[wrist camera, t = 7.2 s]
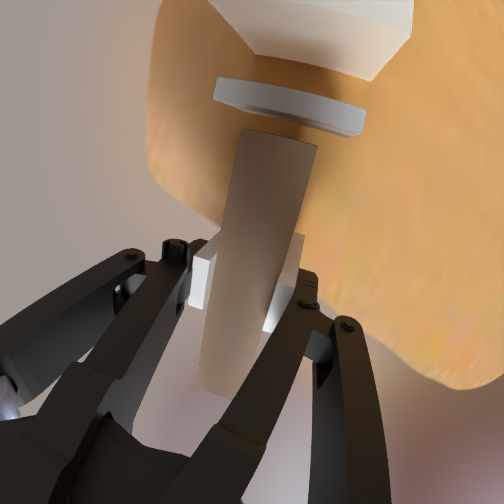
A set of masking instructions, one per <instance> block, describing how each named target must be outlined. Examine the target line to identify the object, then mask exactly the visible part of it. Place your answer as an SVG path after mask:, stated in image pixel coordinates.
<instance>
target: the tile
mask: <svg viewBox="0 0 504 504" xmlns="http://www.w3.org/2000/svg"><path fill="white" fill-rule="evenodd" d="M207 1H208V2H209V3H210V4H211V5H212V6H213V7H214V8H215V9H216V10H217V11H218V12H219V13H220V14H221V15H222V17H223V18H224V19H225V20H226V21H227V22H228V23H229V24H230V25H231V26H232V28H233V29H234V30H235V31H236V32H237V33H238V34H239V36H240V37H241V38H242V39H243V40H244V41H245V43H246V44H247V45H248V46H249V47H250V49H251V50H252V51H253V52H254V54H256V55H263V56H270V57H276V58H282V59H288V60H293V61H298V62H302V63H307V64H311V65H315V66H320V67H323V68H327V69H331V70H335V71H338V72H342V73H345V74H348V75H352V76H355V77H358V78H361V79H364V80H367V81H370V82H371V81H372V80H373V79H374V77H375V76H376V75H377V74H378V73H379V72H380V70H381V69H382V68H383V67H384V66H385V65H386V63H387V62H388V61H389V60H390V59H391V58H392V57H393V55H394V54H395V53H396V52H397V51H398V50H399V49H400V48H401V46H402V45H403V44H404V43H405V42H406V41H407V40H408V38H409V37H410V36H411V30H412V20H413V7H414V1H413V0H207Z"/></svg>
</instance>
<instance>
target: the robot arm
mask: <svg viewBox="0 0 504 504" xmlns="http://www.w3.org/2000/svg"><path fill="white" fill-rule="evenodd" d="M220 233H221V230H220V231H219V232H218V233H217V234H216V235H215V236H214V237H213V238H212V239H211V240H210V241H207V240H203V239H197V240H194V241H192V242H191V243H190V244H189V243H187V242H186V241H184V240H180V239H168V240H165V241H164V242H163V245H162V258H161V260H160V261H159V262H154V261H147V260H145V254H144V252H143V251H141V250H138V249H133V248H130V249H125V250H122V251H120V252H118V253H117V254H115V255H113V256H111V257H110V258H107V259H106V260H104V261H102V262H100V263H99V264H97V265H95V266H93V267H92V268H90V269H88V270H86V271H85V272H83V273H81V274H80V275H78V276H76V277H74V278H73V279H71V280H69V281H68V282H66V283H64V284H63V285H62V286H60V287H58V288H56V289H55V290H53V291H51V292H50V293H48V294H47V295H45V296H44V297H42V298H41V299H39V300H37V301H36V302H34V303H33V304H31V305H30V306H28V307H27V308H25V309H24V310H22V311H21V312H19V313H18V314H16V315H15V316H13V317H12V318H10V319H9V320H7V321H6V322H5V323H3V324H2V325H0V504H244V503H243V502H242V500H241V497H242V495H243V494H244V492H245V490H246V488H247V486H248V484H249V482H250V480H251V478H252V477H253V475H254V473H255V471H256V469H257V467H258V465H259V463H260V461H261V459H262V457H263V454H264V452H265V449H266V444H267V442H268V439H269V437H270V435H271V433H272V431H273V428H274V426H275V424H276V422H277V420H278V417H279V415H280V413H281V410H282V408H283V406H284V403H285V401H286V399H287V396H288V394H289V391H290V389H291V386H292V384H293V382H294V379H295V376H296V374H297V371H298V369H299V366H300V364H301V361H302V358H303V356H306V357H308V358H309V359H311V360H313V363H312V372H313V402H312V403H313V404H312V444H311V465H310V481H309V494H308V504H392V503H391V491H390V478H389V467H388V458H387V451H386V443H385V437H384V429H383V423H382V417H381V411H380V406H379V400H378V395H377V390H376V385H375V380H374V375H373V371H372V366H371V362H370V357H369V353H368V349H367V345H366V341H365V337H364V333H363V329H362V327H361V325H360V324H359V323H358V321H356V320H355V319H353V318H352V317H348V316H343V315H341V316H337V317H336V318H335V320H332V319H330V318H328V317H327V316H325V315H324V314H322V313H321V312H320V306H319V304H318V302H317V292H318V277H317V276H316V274H315V273H314V272H310V271H307V270H304V269H301V268H299V264H300V259H301V253H302V248H303V242H304V237H305V235H303V234H299V233H296V232H293V236H292V239H291V242H290V246H289V249H288V252H287V256H286V259H285V262H284V265H283V269H282V272H281V273H280V276H279V279H278V282H277V285H276V288H275V292H274V295H273V298H272V301H271V304H270V307H269V310H268V313H267V317H266V320H265V323H264V326H263V329H262V330H263V331H266V332H269V333H272V334H271V336H270V338H269V340H268V341H267V343H266V345H265V347H264V348H263V350H262V352H261V354H260V355H259V357H258V359H257V360H256V362H255V364H254V365H253V367H252V369H251V370H250V372H249V374H248V375H247V377H246V379H245V380H244V382H243V384H242V385H241V387H240V389H239V390H238V392H237V394H236V395H235V397H234V398H233V400H232V402H231V403H230V405H229V406H228V408H227V409H226V411H225V413H224V414H223V416H222V417H221V419H220V420H219V422H218V423H217V424H215V425H214V426H213V427H212V428H211V429H210V430H209V432H208V433H207V435H206V436H205V438H204V439H203V441H202V442H201V443H200V445H199V446H198V448H197V449H196V451H195V452H194V453H193V455H192V456H191V458H190V457H187V456H184V455H182V454H177V453H173V452H167V451H163V450H158V449H154V448H150V447H146V446H144V445H142V444H141V443H140V442H139V441H137V440H136V439H135V438H134V437H133V436H132V435H131V434H132V427H133V421H134V418H135V416H136V413H137V411H138V408H139V406H140V404H141V401H142V399H143V397H144V395H145V392H146V390H147V388H148V385H149V383H150V381H151V379H152V376H153V374H154V372H155V370H156V368H157V365H158V363H159V361H160V359H161V357H162V354H163V352H164V350H165V348H166V346H167V343H168V341H169V339H170V337H171V335H172V333H173V331H174V329H175V327H176V324H177V322H178V320H179V318H180V316H181V314H182V312H183V310H184V302H185V300H186V299H187V298H188V296H189V300H188V305H190V306H193V307H196V308H198V309H201V310H203V308H204V307H205V305H206V304H207V302H208V301H209V298H210V292H211V285H212V279H213V274H214V268H215V262H216V256H217V249H218V244H219V238H220ZM118 285H119V286H120V290H118V291H117V292H116V291H115V288H116V287H117V286H118ZM92 347H94V348H93V349H92V351H91V352H90V353H89V355H88V356H87V358H86V359H85V361H84V362H82V363H80V362H77V361H78V360H79V359H80V358H81V357H82V356H83V355H84V354H86V353H87V352H88V351H89V350H90V349H91V348H92ZM61 375H62V376H61ZM59 376H61V377H60V378H59ZM57 378H59V380H58V381H57V383H56V384H55V386H54V387H53V389H52V390H51V392H50V394H49V395H48V397H47V398H46V400H45V401H44V403H43V405H42V406H41V408H40V409H39V411H38V413H37V414H36V415H33V416H28V417H22V418H20V411H19V410H18V408H19V407H21V406H23V405H25V404H27V403H28V402H30V401H31V400H33V399H35V398H36V397H37V396H38V395H39V394H41V393H42V392H43V391H44V390H45V389H46V388H47V387H49V386H50V385H51V384H52V383H53V382H54V381H55V380H56V379H57Z"/></svg>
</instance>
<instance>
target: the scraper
mask: <svg viewBox="0 0 504 504" xmlns="http://www.w3.org/2000/svg"><path fill="white" fill-rule="evenodd" d="M213 100H216V101H219V102H222V103H224V104H227V105H230V106H232V107H235V108H237V109H240V110H242V111H245V112H247V113H251V114H256V115H261V116H266V117H271V118H275V119H280V120H284V121H288V122H292V123H296V124H300V125H304V126H308V127H311V128H315V129H318V130H322V131H325V132H329V133H332V134H335V135H338V136H342V137H345V138H347V137H351V136H356V135H360V134H362V130H363V126H364V122H365V118H366V114H367V110H365V109H362V108H359V107H356V106H353V105H350V104H347V103H343V102H340V101H337V100H334V99H330V98H327V97H323V96H319V95H315V94H312V93H308V92H303V91H299V90H295V89H290V88H286V87H281V86H276V85H271V84H265V83H259V82H253V81H246V80H239V79H231V78H223V77H218V78H217V82H216V86H215V90H214V94H213ZM316 150H317V146H316V145H312V144H309V143H305V142H302V141H298V140H294V139H290V138H286V137H282V136H278V135H274V134H270V133H265V132H260V131H255V130H250V129H245V128H242V131H241V135H240V140H239V144H238V149H237V153H236V158H235V163H234V167H233V172H232V177H231V182H230V187H229V192H228V197H227V202H226V207H225V212H224V217H223V222H222V228H221V233H220V238H219V244H218V249H217V256H216V262H215V268H214V274H213V279H212V285H211V292H210V298H209V303H208V308H207V315H206V321H205V328H204V334H203V342H202V348H201V355H200V362H199V370H198V378H197V384H196V387H198V388H201V389H203V390H206V391H209V392H211V393H214V394H217V395H220V396H223V397H225V398H228V399H231V400H233V398H234V397H235V395H236V394H237V392H238V390H239V389H240V387H241V385H242V384H243V382H244V380H245V379H246V377H247V374H248V371H249V368H250V365H251V363H252V360H253V357H254V354H255V351H256V348H257V345H258V342H259V340H260V337H261V333H262V331H263V330H262V329H263V326H264V323H265V320H266V317H267V313H268V310H269V307H270V304H271V301H272V298H273V295H274V292H275V288H276V285H277V282H278V279H279V276H280V273H281V272H282V269H283V265H284V262H285V259H286V256H287V252H288V249H289V246H290V242H291V239H292V236H293V232H294V229H295V225H296V222H297V219H298V215H299V212H300V208H301V205H302V201H303V198H304V194H305V191H306V187H307V183H308V180H309V176H310V172H311V169H312V165H313V161H314V158H315V154H316Z"/></svg>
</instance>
